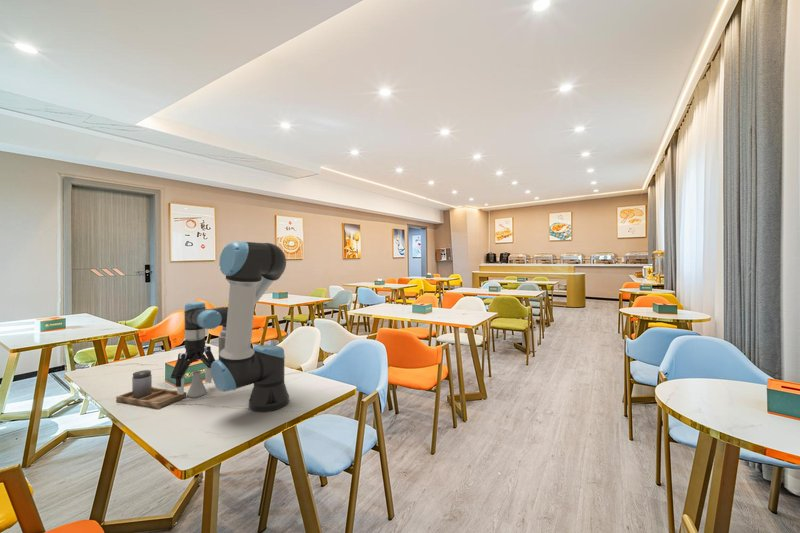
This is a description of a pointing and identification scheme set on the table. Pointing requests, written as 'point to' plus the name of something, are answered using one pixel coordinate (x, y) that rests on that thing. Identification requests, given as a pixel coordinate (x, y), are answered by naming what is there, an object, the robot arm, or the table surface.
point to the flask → (196, 386)
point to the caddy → (152, 398)
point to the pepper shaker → (141, 384)
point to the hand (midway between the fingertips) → (195, 387)
